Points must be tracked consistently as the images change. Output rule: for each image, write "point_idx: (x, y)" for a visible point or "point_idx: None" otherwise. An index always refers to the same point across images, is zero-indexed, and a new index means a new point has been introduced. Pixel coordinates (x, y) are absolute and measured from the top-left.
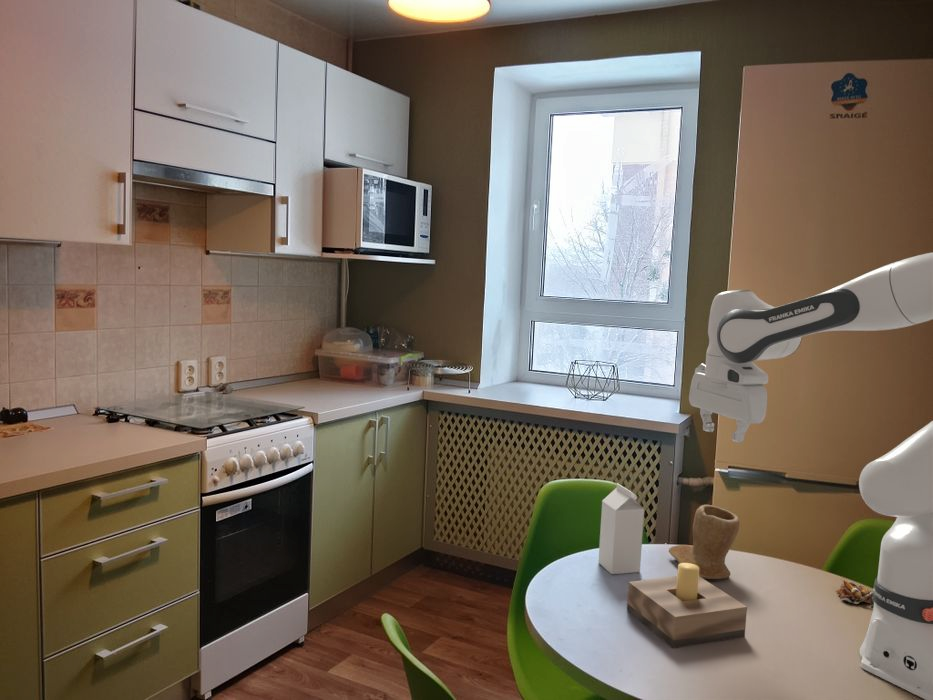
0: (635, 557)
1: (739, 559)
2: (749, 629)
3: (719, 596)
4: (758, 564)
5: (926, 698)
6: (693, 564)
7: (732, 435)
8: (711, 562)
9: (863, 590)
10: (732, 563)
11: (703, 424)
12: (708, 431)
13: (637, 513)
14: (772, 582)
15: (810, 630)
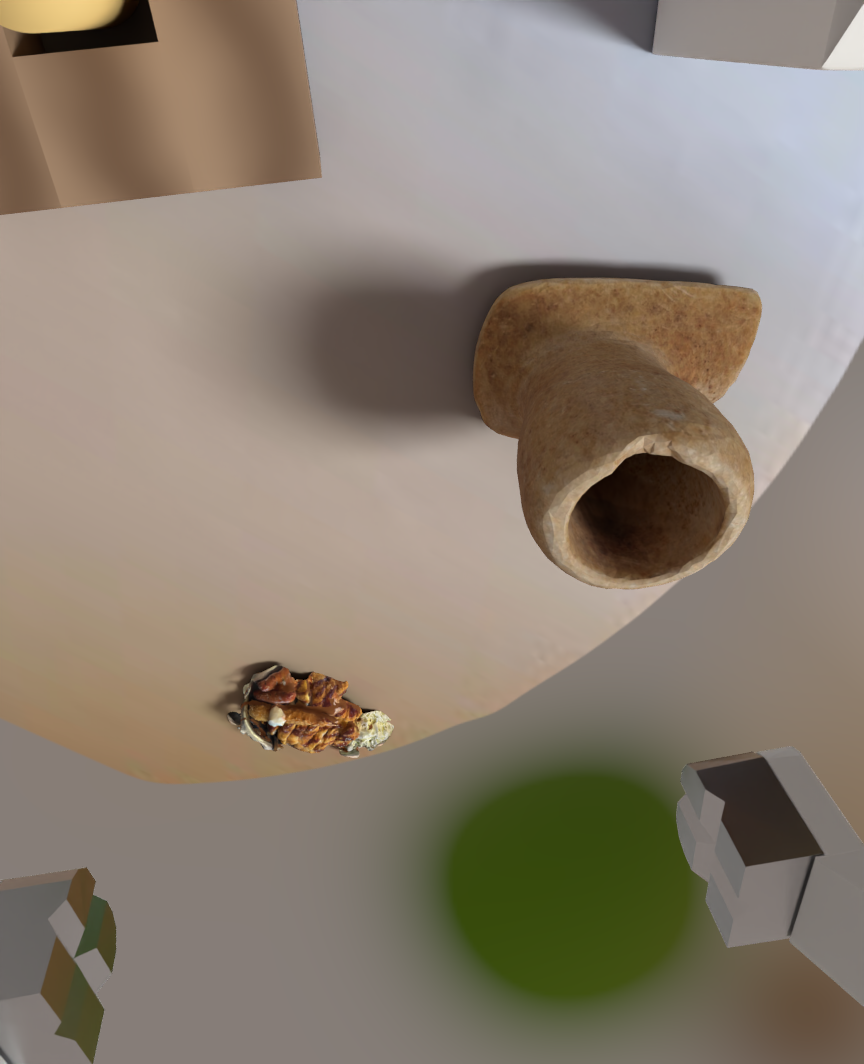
0: (685, 18)
1: None
2: (55, 257)
3: (43, 148)
4: None
5: None
6: (60, 18)
7: (48, 937)
8: (529, 376)
9: (295, 739)
10: None
11: (831, 816)
12: (685, 774)
13: (817, 7)
14: (439, 547)
15: (63, 471)
